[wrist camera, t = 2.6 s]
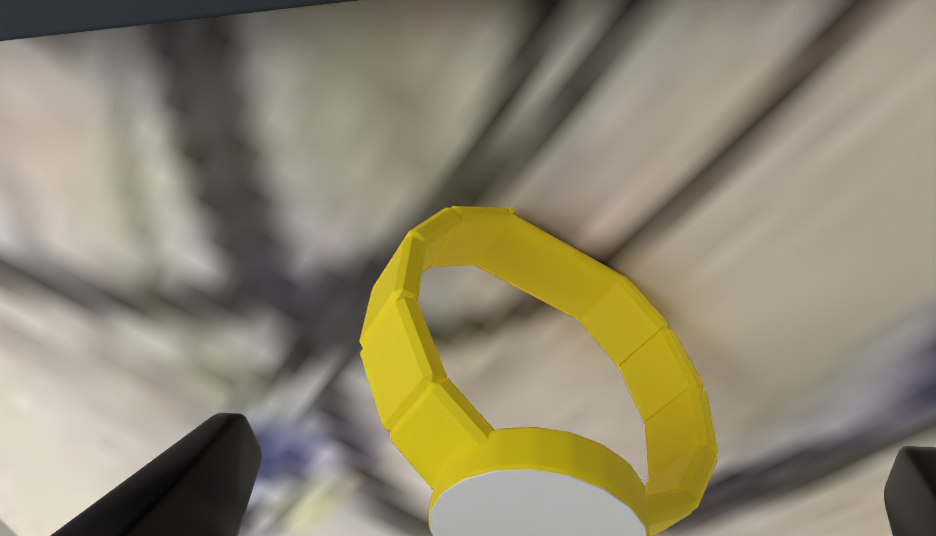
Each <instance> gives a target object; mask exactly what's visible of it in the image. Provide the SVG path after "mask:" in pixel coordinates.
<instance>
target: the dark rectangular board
mask: <svg viewBox="0 0 936 536" xmlns="http://www.w3.org/2000/svg"><path fill="white" fill-rule="evenodd" d="M348 1H357V0H0V41H5V40H14V39H23V38H31V37H40V36H49V35H58V34H67V33H76V32H84V31H93V30H102V29H111V28H120V27H128V26H137V25H146V24H155V23H164V22H172V21H181V20H190V19H199V18H208V17H216V16H225V15H234V14H243V13H252V12H260V11H269V10H278V9H287V8H296V7H304V6H313V5H322V4H331V3H340V2H348Z"/></svg>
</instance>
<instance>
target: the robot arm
mask: <svg viewBox="0 0 936 536" xmlns="http://www.w3.org/2000/svg"><path fill="white" fill-rule="evenodd" d="M261 458H262V453H261V447H260V445H259V443H258V441H257V439H256V437H255V435H254V432H253V430H252V428H251V426H250V424H249V422H248V420H247V419H246V417H245V416H243V415H242V414H238V413H218V414H215V415H214V416H212V417H210V418H209V419H208V420H206V421H205V422H204V423H202V424H201V425H200V426H198V427H197V428H196V429H194V430H193V431H192V432H190V433H189V434H187V435H186V436H185V437H183V438H182V439H181V440H179V441H178V442H177V443H175V444H174V445H173V446H171V447H170V448H168V449H167V450H166V451H164V452H163V453H162V454H160V455H159V456H158V457H156V458H155V459H154V460H152V461H151V462H149V463H148V464H147V465H145V466H144V467H143V468H141V469H140V470H139V471H137V472H136V473H135V474H133V475H132V476H131V477H129V478H128V479H126V480H125V481H124V482H122V483H121V484H120V485H118V486H117V487H116V488H114V489H113V490H112V491H110V492H109V493H107V494H106V495H105V496H103V497H102V498H101V499H99V500H98V501H97V502H95V503H94V504H93V505H91V506H90V507H89V508H87V509H86V510H84V511H83V512H82V513H80V514H79V515H78V516H76V517H75V518H74V519H72V520H71V521H70V522H68V523H67V524H65V525H64V526H63V527H61V528H60V529H59V530H57V531H56V532H55V533H53V534H52V535H51V536H238V534H239V531H240V528H241V524H242V521H243V518H244V515H245V512H246V508H247V505H248V502H249V499H250V496H251V493H252V489H253V486H254V483H255V480H256V477H257V474H258V470H259V467H260V464H261ZM884 501H885V507H886V511H887V515H888V519H889V523H890V527H891V530H892V534H893V536H936V448H935V447H918V446H905V447H903V448H902V449H900V450H899V452H898V454H897V456H896V459H895V462H894V464H893V467H892V469H891V472H890V475H889V477H888V480H887V482H886V485H885V490H884Z"/></svg>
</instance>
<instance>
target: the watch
mask: <svg viewBox="0 0 936 536" xmlns="http://www.w3.org/2000/svg"><path fill="white" fill-rule="evenodd" d="M515 213H516V211H515V210H513V209H512V208H510V207H508V209H507V210H506V208H500V207H467V206H452V207H451V208H444V209H442V210H441V211H439V212H438V213H436V214H435V215H433V216H432V217H430V218H429V219H427V220H426V221H424V222H423V223H421V224H420V225H418V226H417V227H415V228H413V229H412V230H410V231H409V232H408V234H407V235H406V237H405V238H404V240H403V241H402V243H401V244H400V246H399V247H398V249H397V251H396V252H395V254H394V255H393V257H392V258H391V260H390V261H389V263H388V265H387V266H386V268H385V269H384V271H383V272H382V274H381V276H380V277H379V279H378V280H377V282H376V283H375V285H374V286H373V288H372V292H371V296H370V300H369V304H368V308H367V312H366V316H365V321H364V325H363V329H362V333H361V337H360V341H359V342H360V344H361V345H362V347H363V349H362V351H361V352H360V355H361V358H362V361H363V364H364V368H365V371H366V374H367V377H368V381H369V384H370V387H371V390H372V393H373V397H374V400H375V403H376V406H377V409H378V413H379V416H380V419H381V422H382V426H383V427H384V428H385V429H386V430H388V431H390V440H391V441H392V443H393V444H394V445H395V446H396V447H397V448H398V450H399V451H400V452H401V453H402V454H403V455H404V457H405V458H406V459H407V460H408V461H409V463H410V464H411V465H412V466H413V467H414V468H415V470H416V471H417V472H418V473H419V474H420V476H421V477H422V478H423V479H424V480H425V481H426V483H427V484H428V485H429V486H430V487H431V488H432V490H433V492H432V497H431V501H430V506H429V528H430V531H431V533H432V535H433V536H655V535H656V534H658V533H660V532H661V531H663V530H665V529H666V528H668V527H670V526H671V525H673V524H675V523H676V522H678V521H680V520H681V519H683V518H685V517H686V516H688V515H689V514H691V513H692V511H693V510H694V509H696V508H698V506H699V504H700V501H701V499H702V497H703V494H704V492H705V489H706V487H707V485H708V482H709V480H710V478H711V475H712V473H713V470H714V468H715V466H716V463H717V455H716V454H717V444H716V439H715V434H714V428H713V423H712V417H711V412H710V407H709V401H708V396H707V392H706V391H704V390H703V387H704V384H703V382H702V380H701V378H700V377H699V375H698V373H697V371H696V369H695V368H694V366H693V364H692V362H691V360H690V359H689V357H688V355H687V353H686V351H685V350H684V348H683V346H682V344H681V342H680V341H679V339H678V337H677V335H676V333H675V332H674V330H671V329H668V322H667V321H666V320H665V319H664V317H663V316H662V315H661V314H660V313H659V312H658V311H657V310H656V309H655V307H654V306H653V305H652V304H651V303H650V302H649V301H648V300H647V299H646V297H645V296H644V295H643V294H642V293H641V292H640V291H639V290H638V289H637V287H636V286H635V285H634V284H633V283H632V282H631V281H630V280H629V279H628V278H627V276H623V275H621V274H620V273H618V272H616V271H614V270H612V269H611V268H609V267H607V266H605V265H604V264H602V263H600V262H598V261H596V260H595V259H593V258H591V257H589V256H587V255H586V254H584V253H582V252H580V251H578V250H577V249H575V248H573V247H571V246H570V245H568V244H566V243H564V242H562V241H561V240H559V239H557V238H555V237H553V236H552V235H550V234H548V233H546V232H544V231H543V230H541V229H539V228H537V227H536V226H534V225H532V224H530V223H528V222H527V221H525V220H523V219H521V218H519V217H518V216H516V215H514V214H515ZM461 265H475V266H477V267H479V268H481V269H483V270H485V271H487V272H488V273H490V274H492V275H494V276H496V277H498V278H500V279H502V280H504V281H506V282H507V283H509V284H511V285H513V286H515V287H517V288H519V289H521V290H523V291H524V292H526V293H528V294H530V295H532V296H534V297H536V298H538V299H540V300H542V301H543V302H545V303H547V304H549V305H551V306H553V307H555V308H557V309H559V310H561V311H562V312H564V313H566V314H568V315H570V316H572V317H574V318H576V319H578V320H579V321H580V323H581V324H582V325H583V326H584V327H585V329H586V330H587V331H588V332H589V333H590V334H591V336H592V337H593V338H594V339H595V340H596V342H597V343H598V344H599V345H600V346H601V348H602V349H603V350H604V351H605V352H606V354H607V355H608V356H609V357H610V358H611V359H612V361H613V362H614V363H615V364H616V365H617V367H619V368H620V372H621V374H622V376H623V378H624V380H625V383H626V385H627V387H628V389H629V391H630V393H631V396H632V398H633V400H634V402H635V404H636V406H637V409H638V411H639V413H640V415H641V417H642V420H643V422H644V424H645V432H646V446H647V460H648V474H649V479H648V481H647V483H646V484H645V486H644V485H643V482H642V481H641V479H640V478H639V477H638V475H637V474H636V472H635V471H634V470H633V468H632V467H631V466H630V464H629V463H628V462H627V461H625V460H624V459H623V458H621V457H620V456H618V455H617V454H615V453H614V452H613V451H611V450H610V449H608V448H607V447H605V446H604V445H602V444H600V443H597V442H595V441H592V440H589V439H587V438H584V437H581V436H579V435H576V434H573V433H570V432H565V431H558V430H552V429H545V428H538V427H524V428H507V429H498V430H494V429H493V427H492V426H491V425H490V424H489V423H488V422H487V421H486V420H485V419H484V417H483V416H482V415H481V414H480V413H479V412H478V411H477V410H476V409H475V407H474V406H473V405H472V404H471V403H470V402H469V401H468V400H467V399H466V397H465V396H464V395H463V394H462V393H461V392H460V391H459V390H458V389H457V387H456V386H455V385H454V384H453V383H452V382H451V381H450V380H449V379H448V378H447V375H446V372H445V370H444V367H443V365H442V362H441V360H440V357H439V355H438V352H437V350H436V347H435V345H434V342H433V340H432V337H431V334H430V332H429V329H428V327H427V324H426V322H425V319H424V317H423V314H422V312H421V309H420V307H419V304H418V302H417V301H418V296H419V290H420V283H421V277H422V273H423V272H424V271H425V270H426V269H428V268H429V267H444V266H461Z"/></svg>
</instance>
